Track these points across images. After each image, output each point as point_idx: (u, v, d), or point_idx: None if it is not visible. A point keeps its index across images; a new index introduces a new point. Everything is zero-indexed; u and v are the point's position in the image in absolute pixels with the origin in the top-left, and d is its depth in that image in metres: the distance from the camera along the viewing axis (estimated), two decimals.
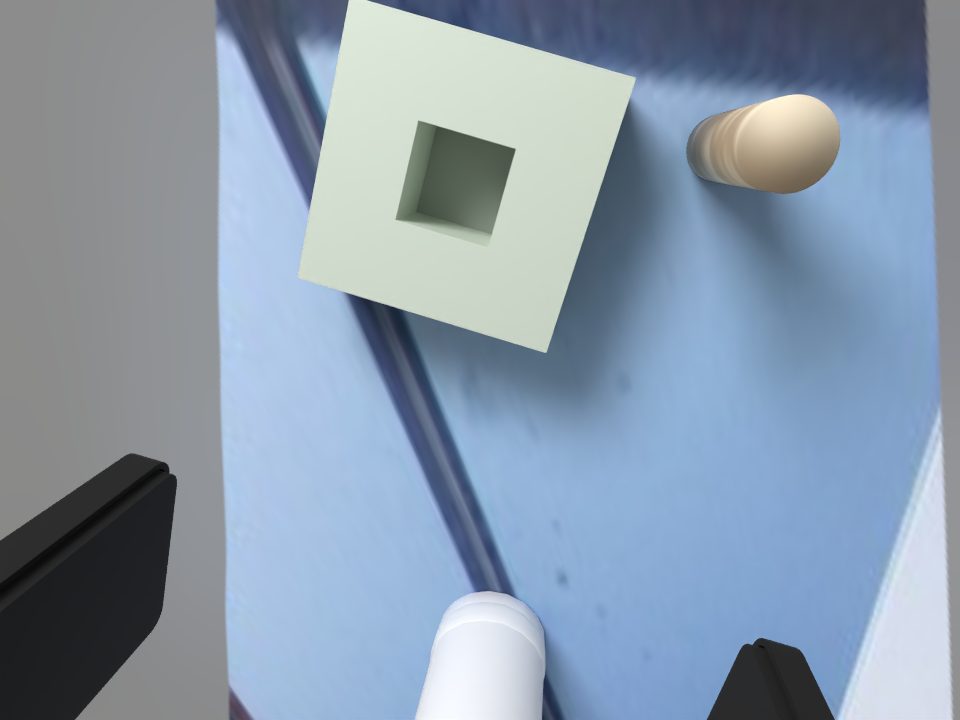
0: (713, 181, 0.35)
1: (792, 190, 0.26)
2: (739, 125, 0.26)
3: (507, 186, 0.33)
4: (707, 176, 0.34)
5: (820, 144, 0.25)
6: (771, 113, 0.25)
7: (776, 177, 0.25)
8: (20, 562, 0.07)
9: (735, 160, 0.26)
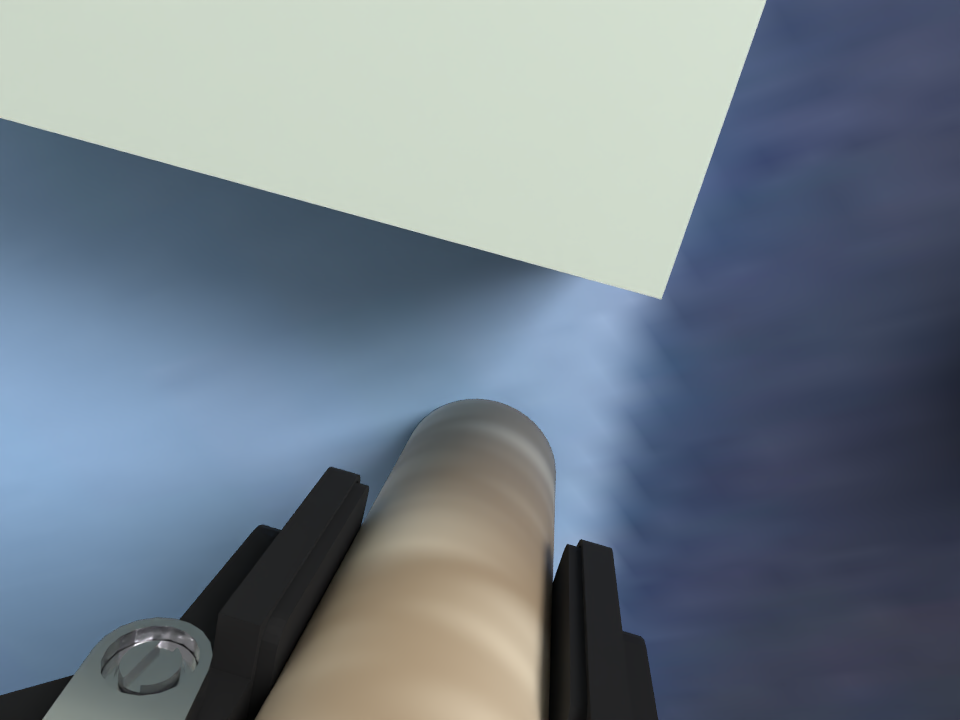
0: None
1: None
2: None
3: None
4: (385, 483, 0.13)
5: None
6: None
7: None
8: (292, 565, 0.08)
9: None
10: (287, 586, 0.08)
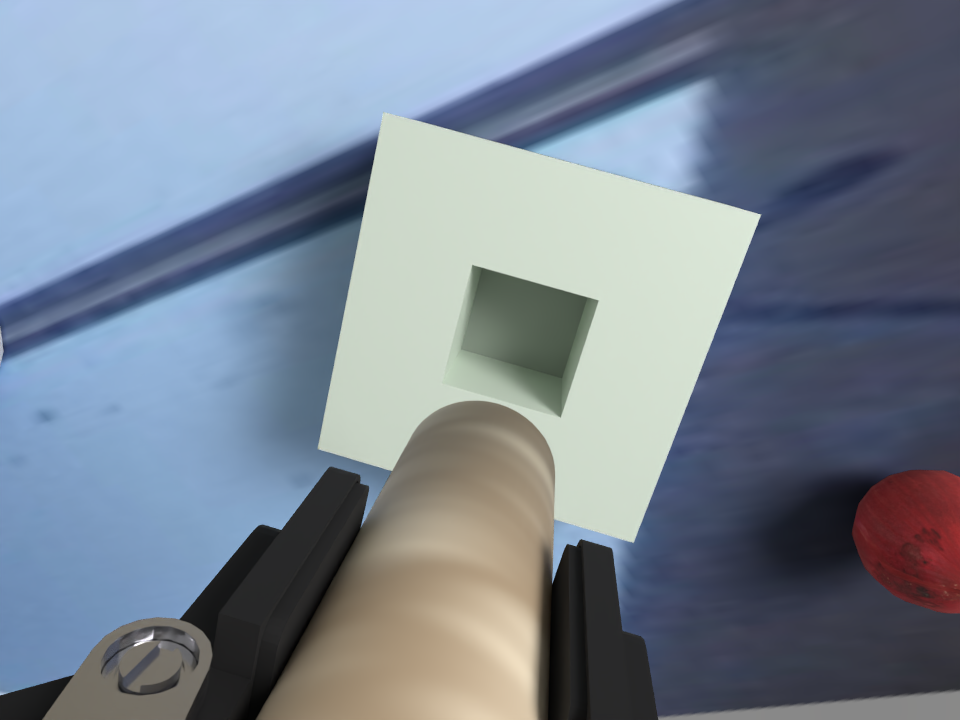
0: None
1: None
2: None
3: (516, 407, 0.26)
4: (385, 485, 0.13)
5: None
6: None
7: None
8: (293, 565, 0.08)
9: None
10: (286, 585, 0.08)
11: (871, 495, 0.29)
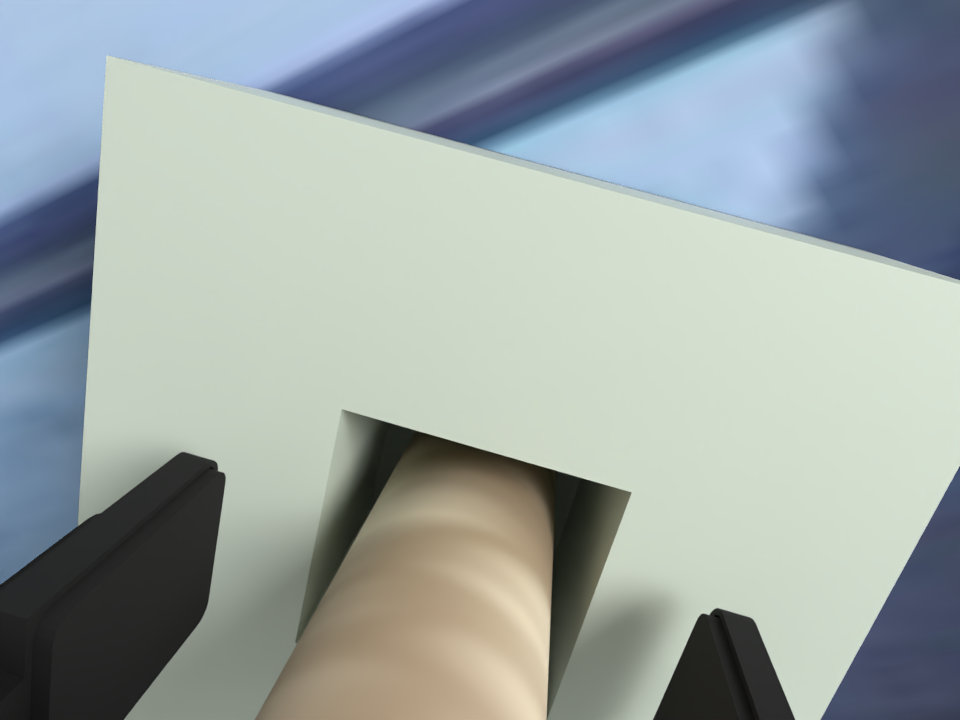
0: None
1: None
2: None
3: None
4: (397, 464, 0.14)
5: None
6: None
7: None
8: (94, 555, 0.08)
9: None
10: (76, 576, 0.07)
11: None
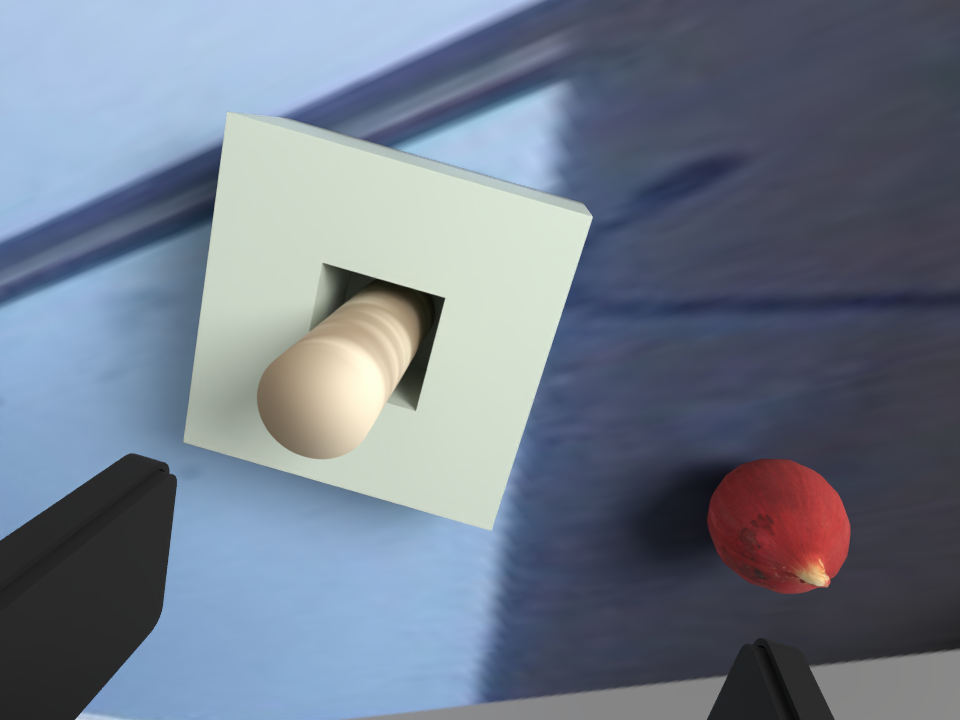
0: None
1: (262, 413, 0.20)
2: (348, 341, 0.20)
3: None
4: None
5: (318, 438, 0.20)
6: (350, 380, 0.19)
7: (274, 393, 0.20)
8: (20, 562, 0.07)
9: (302, 341, 0.20)
10: None
11: (722, 483, 0.30)
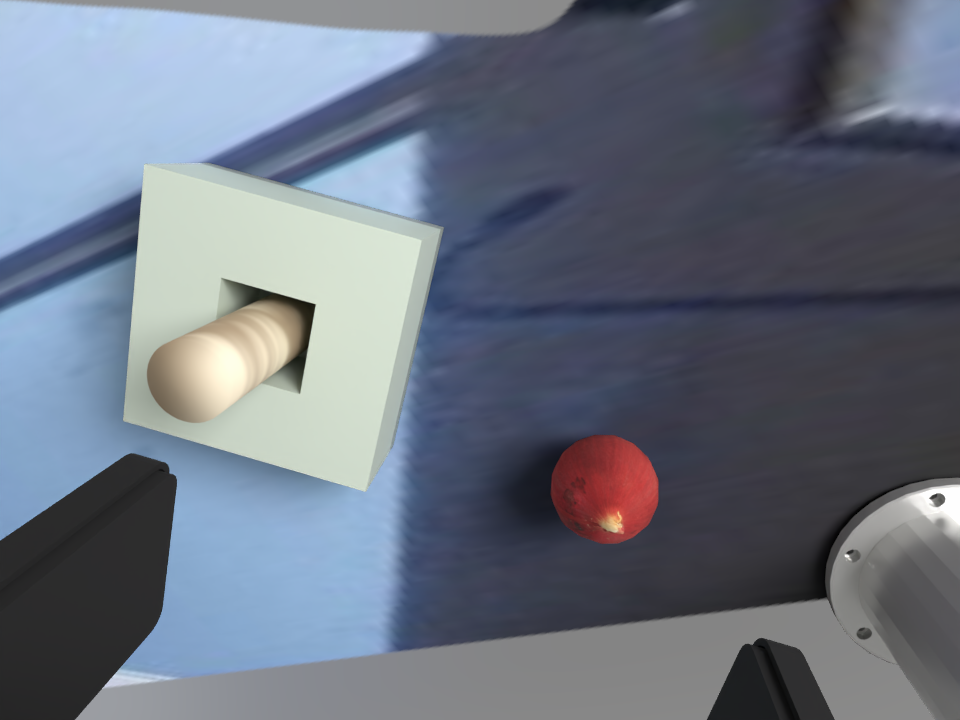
0: None
1: (151, 388, 0.27)
2: (216, 336, 0.28)
3: (266, 386, 0.34)
4: None
5: (192, 407, 0.27)
6: (212, 363, 0.27)
7: (159, 373, 0.27)
8: (20, 562, 0.07)
9: None
10: None
11: (561, 455, 0.37)
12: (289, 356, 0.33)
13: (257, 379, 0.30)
